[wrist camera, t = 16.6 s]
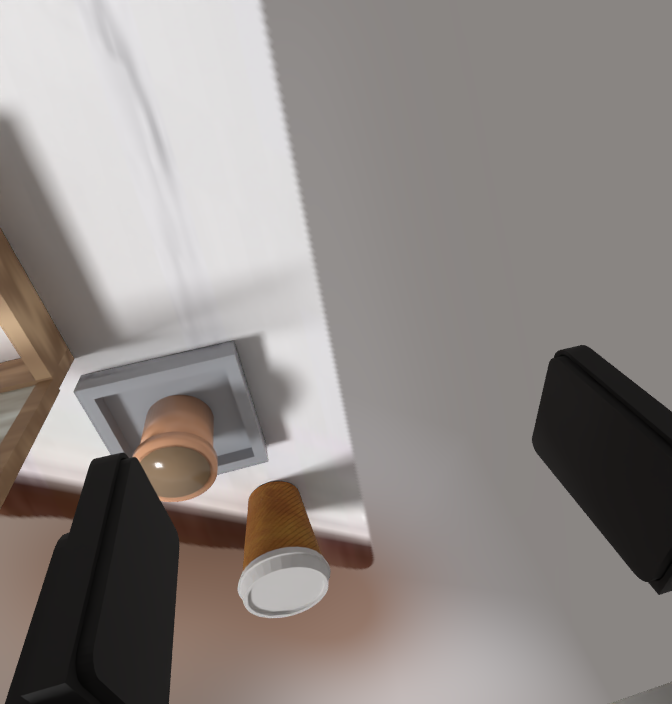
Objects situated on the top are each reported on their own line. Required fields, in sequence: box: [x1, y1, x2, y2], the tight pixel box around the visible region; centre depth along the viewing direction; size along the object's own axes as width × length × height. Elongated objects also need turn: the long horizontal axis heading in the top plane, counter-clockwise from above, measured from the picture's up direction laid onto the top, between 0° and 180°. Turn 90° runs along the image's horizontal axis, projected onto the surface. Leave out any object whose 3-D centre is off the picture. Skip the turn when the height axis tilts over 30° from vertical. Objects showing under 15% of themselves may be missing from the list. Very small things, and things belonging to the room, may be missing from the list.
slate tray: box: [74, 341, 268, 475], centre depth 44 cm, size 14×14×2 cm
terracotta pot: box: [132, 395, 218, 502], centre depth 41 cm, size 7×7×7 cm
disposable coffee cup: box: [238, 481, 330, 618], centre depth 49 cm, size 10×10×12 cm
